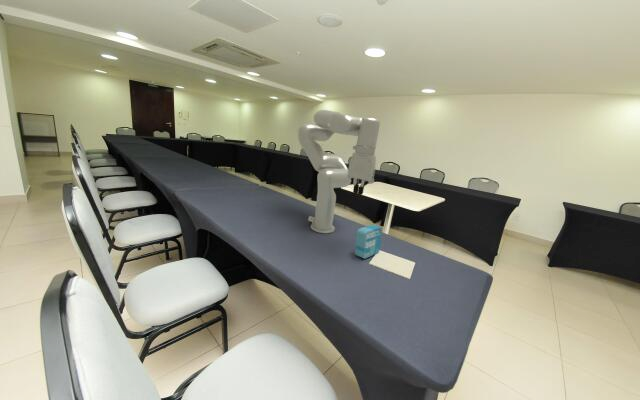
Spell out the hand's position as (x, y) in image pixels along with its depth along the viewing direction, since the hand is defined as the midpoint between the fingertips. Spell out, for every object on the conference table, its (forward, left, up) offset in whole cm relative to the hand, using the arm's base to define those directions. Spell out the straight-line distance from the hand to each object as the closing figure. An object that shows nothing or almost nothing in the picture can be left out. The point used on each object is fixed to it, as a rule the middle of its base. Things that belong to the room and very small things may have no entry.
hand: (357, 194), depth 100 cm
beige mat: (+20, 0, -25) cm, 32 cm away
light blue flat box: (+9, 0, -25) cm, 27 cm away
